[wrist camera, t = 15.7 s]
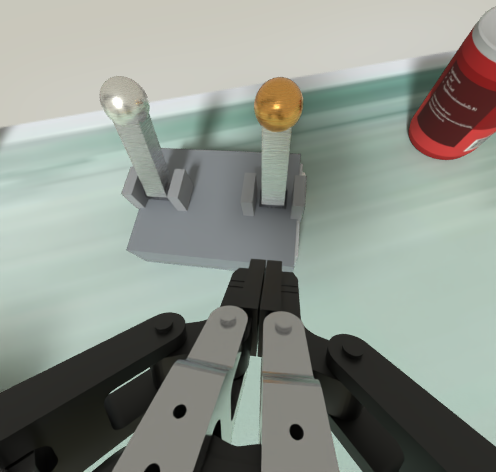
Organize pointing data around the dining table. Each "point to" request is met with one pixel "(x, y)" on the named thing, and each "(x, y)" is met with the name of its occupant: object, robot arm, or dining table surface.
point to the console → (216, 212)
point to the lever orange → (276, 136)
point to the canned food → (461, 98)
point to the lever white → (137, 133)
